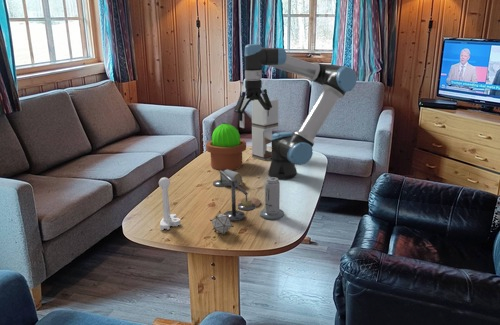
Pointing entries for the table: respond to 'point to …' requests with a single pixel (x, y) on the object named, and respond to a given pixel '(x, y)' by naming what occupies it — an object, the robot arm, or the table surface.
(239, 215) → the balance
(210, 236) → the table surface
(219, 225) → the game die
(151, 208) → the table surface
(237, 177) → the ceramic mug
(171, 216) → the white mechanical bracket
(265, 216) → the grey round disc
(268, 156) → the stacked white blocks
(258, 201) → the pink disc
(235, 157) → the potted cactus
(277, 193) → the energy drink can
